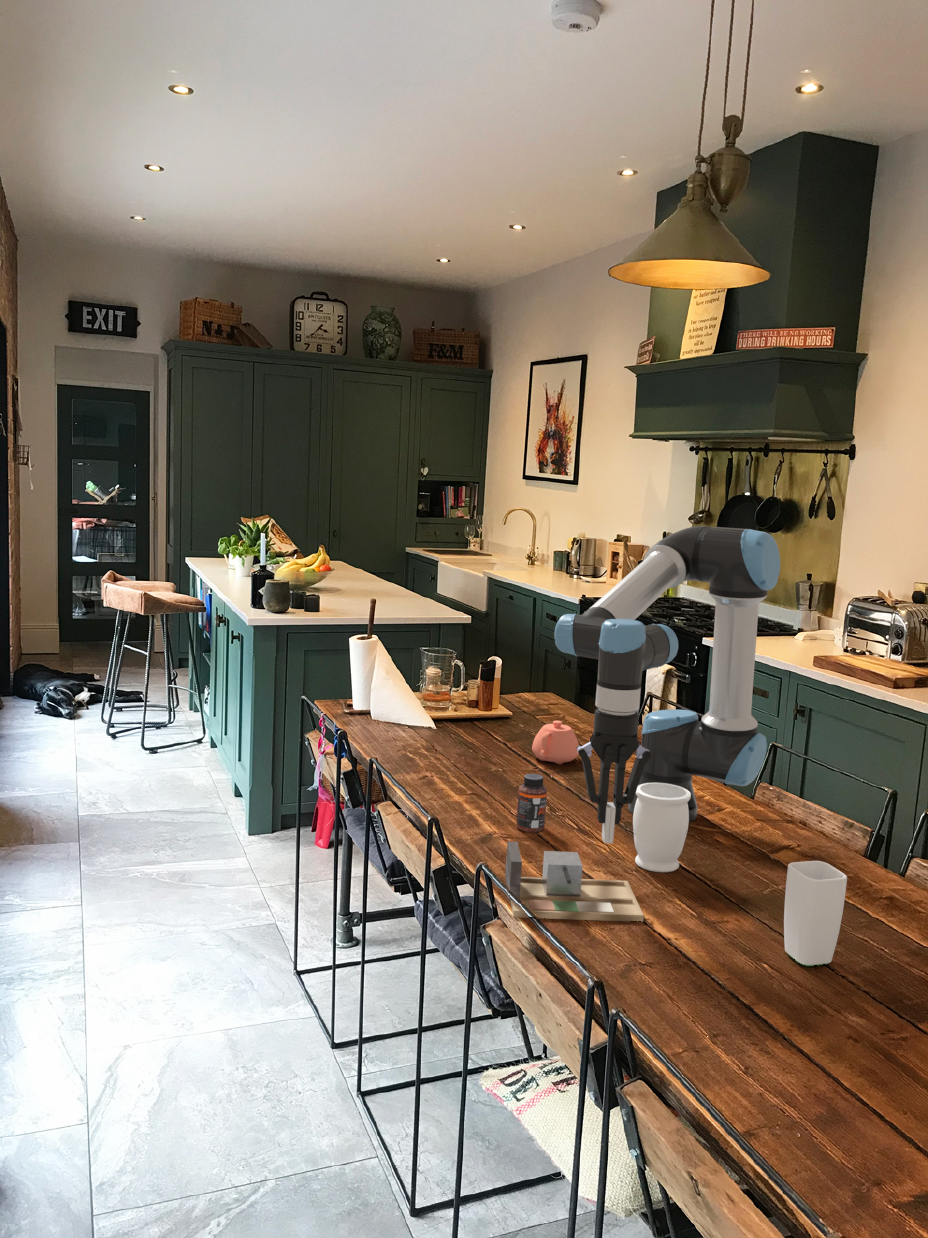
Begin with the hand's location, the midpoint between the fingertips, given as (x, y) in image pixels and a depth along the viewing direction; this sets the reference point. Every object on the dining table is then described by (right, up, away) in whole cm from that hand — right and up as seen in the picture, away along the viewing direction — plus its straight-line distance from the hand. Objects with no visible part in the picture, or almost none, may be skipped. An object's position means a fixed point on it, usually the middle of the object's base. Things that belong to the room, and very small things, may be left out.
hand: (607, 840), depth 174 cm
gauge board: (-6, -11, 0) cm, 12 cm away
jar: (+12, -9, +18) cm, 24 cm away
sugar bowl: (-2, +2, +84) cm, 84 cm away
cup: (+29, -15, -16) cm, 37 cm away
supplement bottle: (-11, -5, +34) cm, 36 cm away
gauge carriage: (-8, -10, -1) cm, 13 cm away
